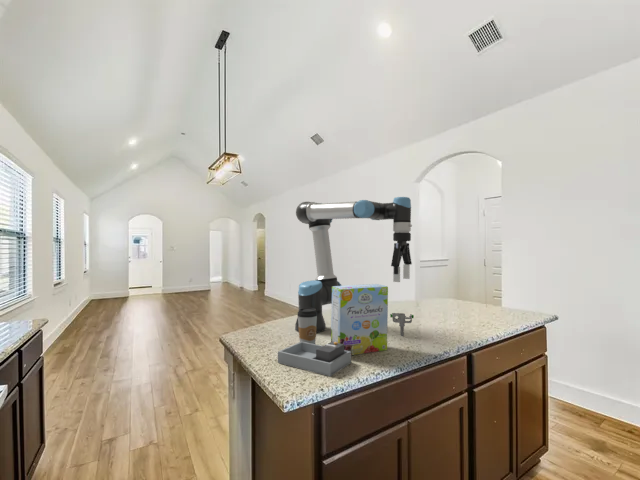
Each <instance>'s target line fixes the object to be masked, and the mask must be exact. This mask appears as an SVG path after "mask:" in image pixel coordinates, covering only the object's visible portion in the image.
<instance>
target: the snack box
mask: <svg viewBox="0 0 640 480" xmlns="http://www.w3.org/2000/svg"><path fill="white" fill-rule="evenodd" d="M388 298H389V287H388V285H383V284H379V283H371V284H347V285H342V286H332V304H331V313H330V314H331V315H330V316H331V318H330V319H331V320H330V321H331V322H330V328H331V329H330V333H331V334H330V342H337V343H340V344H344V350H346V351H351V356H355V355H357V356H358V355H363V354H368V353H369V354H370V353H376V352H382V351H387V350H388V322H389V320H388V319H389V318H388V312H389V309H388V307H389V306H388V305H389V304H388V303H389V299H388Z"/></svg>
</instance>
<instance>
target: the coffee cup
mask: <svg viewBox="0 0 640 480" xmlns="http://www.w3.org/2000/svg"><path fill="white" fill-rule="evenodd" d="M296 315H297V318H298V324H299V326H298V327H299V332H298V337H299V342H301V341H302V342H307V343H311V344H316V339H317V333H316V327H317V326H316V323H317V312H316V309H314V308H302V309H299V308H298V312H297V314H296Z"/></svg>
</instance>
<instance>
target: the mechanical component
mask: <svg viewBox="0 0 640 480" xmlns="http://www.w3.org/2000/svg"><path fill="white" fill-rule="evenodd" d="M389 316H390V317H389V318H392V322H393V323H395V324H396V323H397V324H399V325H398V326H399V330H400V333H399V335H400V337H404V335H405V331H404V330H405V329H404V328H405V326H406V325H405V324H411V323H412V321H413V319H414V314H409V316H407V315H406V313H403V312H392V313H390V314H389ZM396 317H398V318H396Z"/></svg>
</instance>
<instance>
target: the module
mask: <svg viewBox="0 0 640 480" xmlns="http://www.w3.org/2000/svg"><path fill="white" fill-rule="evenodd" d="M321 346H322V347H320V348H318V349H316V360H320V361H325V362H329V363H330V362H331V361H333V360H335V359H336V358H338V357H340V356H342V355H343V354H344V344H340V343H337V342H331V341H330V342H329V343H326V344H324V345H321Z"/></svg>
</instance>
